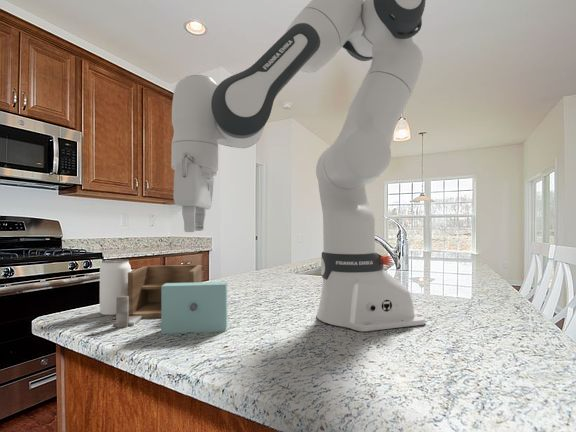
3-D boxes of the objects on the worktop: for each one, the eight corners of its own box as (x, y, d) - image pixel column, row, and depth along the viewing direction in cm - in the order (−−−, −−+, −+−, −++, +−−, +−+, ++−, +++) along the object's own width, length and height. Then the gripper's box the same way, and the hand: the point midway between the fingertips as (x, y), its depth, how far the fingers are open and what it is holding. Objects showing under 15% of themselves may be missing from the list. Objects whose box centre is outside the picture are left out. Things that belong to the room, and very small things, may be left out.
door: (227, 326, 65) (227, 281, 65) (225, 333, 61) (225, 285, 62) (165, 328, 64) (165, 283, 64) (159, 335, 60) (160, 287, 60)
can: (117, 316, 72) (117, 262, 72) (92, 315, 73) (93, 262, 74) (136, 309, 78) (136, 259, 79) (113, 307, 80) (113, 259, 80)
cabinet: (205, 303, 83) (205, 264, 83) (193, 324, 66) (193, 275, 66) (140, 305, 81) (140, 265, 81) (111, 327, 65) (111, 277, 65)
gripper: (203, 149, 54) (202, 233, 53) (217, 169, 74) (217, 229, 74) (163, 148, 53) (163, 233, 53) (189, 169, 73) (188, 230, 73)
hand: (194, 231), depth 63 cm, fingers open, 8 cm apart
